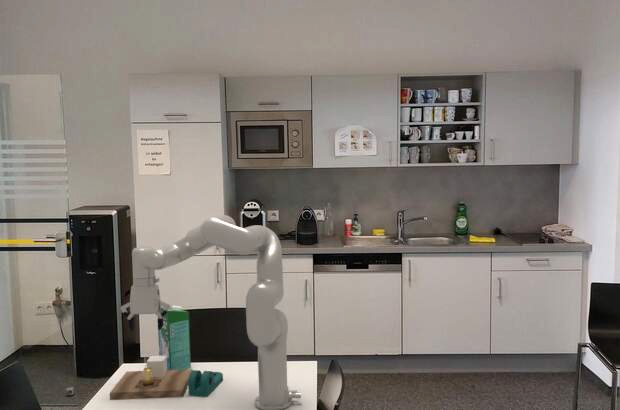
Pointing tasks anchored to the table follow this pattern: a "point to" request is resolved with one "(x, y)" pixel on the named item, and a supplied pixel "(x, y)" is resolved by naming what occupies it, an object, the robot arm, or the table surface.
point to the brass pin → (148, 376)
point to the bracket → (203, 382)
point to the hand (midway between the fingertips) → (146, 329)
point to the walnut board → (161, 388)
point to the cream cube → (158, 365)
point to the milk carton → (175, 338)
